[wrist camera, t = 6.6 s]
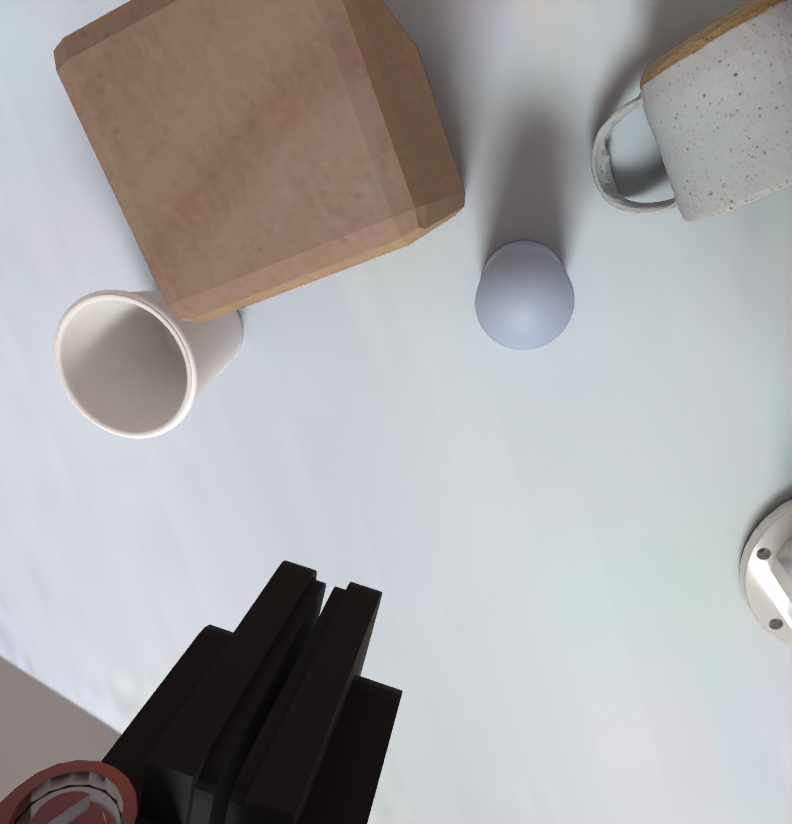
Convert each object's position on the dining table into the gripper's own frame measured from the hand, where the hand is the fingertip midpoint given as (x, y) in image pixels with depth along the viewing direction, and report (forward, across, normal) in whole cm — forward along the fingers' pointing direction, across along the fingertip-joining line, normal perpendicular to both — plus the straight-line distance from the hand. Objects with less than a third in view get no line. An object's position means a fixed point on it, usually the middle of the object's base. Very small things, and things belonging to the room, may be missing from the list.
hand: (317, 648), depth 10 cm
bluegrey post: (+33, -2, -2) cm, 33 cm away
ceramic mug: (+33, -9, -12) cm, 36 cm away
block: (+32, +9, -7) cm, 34 cm away
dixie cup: (+32, +18, +6) cm, 37 cm away
